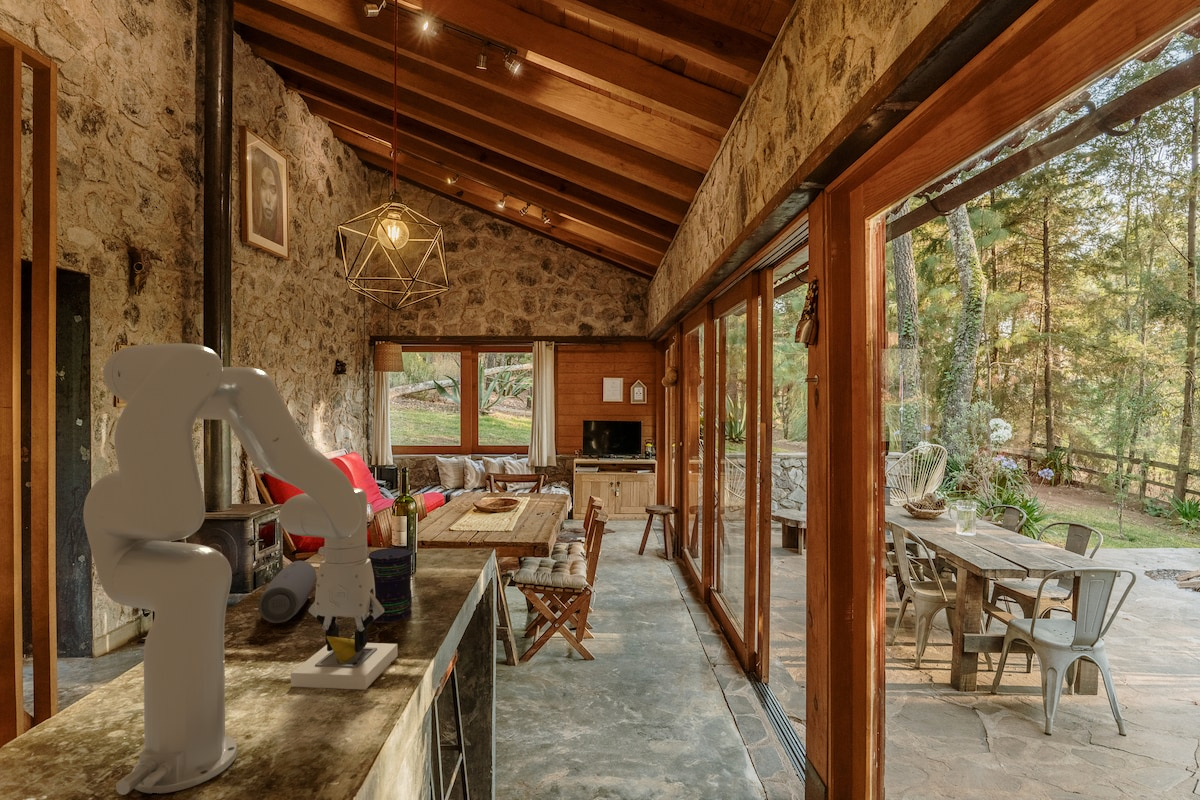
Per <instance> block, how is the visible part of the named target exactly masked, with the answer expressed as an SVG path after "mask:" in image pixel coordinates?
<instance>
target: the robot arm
mask: <svg viewBox="0 0 1200 800" xmlns="http://www.w3.org/2000/svg"><path fill="white" fill-rule="evenodd" d="M102 375H103V380H104V383H105V384H104V385H105V386H106V387H107V389H108V390H109V391H110V393H112V395H113V396H115V397H116V398H118V400H122V401H123V402H125V403H126V405H125V407H124V408H123V409H122V411H121V414H120V416H119V418H118V420H117V423H116V426H115V430H114V431H115V432H114V450H115V455H116V459H117V461H116V462H117V468H118V470H116V471H113V472H109V473H108V474H106V475H104V476H102V477H101V478H100V479H98V480H97V481H96V482H94V484H93V485H92V487H91V488H90V489H89V491H88V493H87V495H86V498H85V500H84V503H83V504H84V505H83V511H82V513H83V524H84V528H85V533H86V536H87V540H88V544H89V547H90V551H91V555H92V559H93V562H94V565H95V569H96V574H97V576H98V577H97V578H98V579H99V582H100V586H101V587H102V590H103V591H104V593H105V594H106V596H107V597H109V599H110V600H111V601H113V602H115V603H116V604H119V605H122V606H126V607H130V608H137V609H143V610H147V611H151V612H154V617H153V618H154V619H153V621H152V624H151V626H150V628H149V630H148V633H147V635H146V637H145V641H144V645H143V646H144V647H143V663H142V664H143V665H142V666H143V703H144V704H143V708H144V710H143V716H144V717H143V718H144V721H143V723H144V724H143V725H144V729H143V731H144V736H143V737H144V750H143V751H141V752H140V753H139V754H138V757H139V760H138V762H137V763H136V764H135V765H134V767H133V768H132V769H131V772H129V773H128V774H126V775H125V776H123V778H121V779H119V780H118V781H117V782H116V784H115V790H116V792H117V793H118V794H119V795H123V796H124V795H127V794H129V793H130V792H131V791H132V790H136V791H138V792H141V793H144V794H152V793H157V794H156V795H159V794H167V793H173V792H178V791H182V790H185V789H186V790H187V789H190V788H192V787H195V786H197V785H201V784H203V783H204V782H207V781H209V780H211V779H213V778H214V777H216V776H218V775H220V774H221V773H222V772H224V771H225V770H226V769H227V768H229V766H231V765H232V764H233V762H234V761H235V760H236V758H237V756H238V751H239V749H238V742H237V741H236V740H235V739H234V738H233V737H231V736H229V735H226V696H225V695H226V689H225V688H226V687H225V686H226V681H225V679H226V678H225V677H226V676H225V674H226V673H225V671H226V670H225V665H226V662H225V661H226V660H225V659H226V658H225V622H226V612H227V606H228V601H229V600H228V599H229V595H230V590H231V586H232V579H233V576H232V575H233V574H232V573H233V571H232V567H231V564H230V562H229V560H228V559H227V557H226V556H225V555H224V554H223V553H222V552H221V551H219V550H217V549H215V548H213V547H210V546H207V545H202V544H199V543H198V544H197V543H191V542H190V543H189V542H182V541H181V542H179V541H178V540H183V539H187V538H189V537H190V536H192V535H193V534H195V533H197V531H198V530H200V528H201V527H202V525H203V523H204V521H205V518H206V503H205V497H204V496H205V495H204V492H203V487H202V483H201V478H200V474H199V470H198V464H197V460H196V456H195V451H194V444H193V430H194V425H195V422H196V420H197V419H199V420H217V421H218V420H219V421H220V420H221V421H226V422H227V423H228V425H229V426H230V428H231V430H232V431H233V433H234V435H235V436H236V438H237V439H238V441H239V443H240V445H241V446H242V448H243V450H244V451H245V452H246V455H247V456H248V458H249V459H250V460H249V461H251V463H252V465H254V467H255V468H257V469H258V470H260V471H261V472H263V473H265V474H268V475H269V476H270V477H273V478H275V479H277V480H280V481H282V482H284V483H287V484H289V485H291V486H293V487H295V488H296V489H298V490H300V491H302V492H303V493H299V494H296V495H294V496H292V497H290V498H288V499H287V500H286V501H285V502H284V503H283V505H282V506H281V508H280V511H279V514H278V519H279V524H280V525H281V527H282V528H283V529H284V530H285V531H286V532H287V533H289V534H291V535H295V536H300V537H311V538H324V545H323V546H320V547H319V548H318V555H323V561H321V562H319V567H318V572H317V575H316V582H315V596H314V598H315V599H314V601H313V603H312V604H311V606H309V608H308V613H310V614H311V615H312V616H313V617H314V618H316V620H317V621H318V622H319V623H320V624H321V625H322V629H323V631H325V646H326V645H327V651H332V650H333V649H332V647H331V645H330V643H329V641H328V639H327V637H326V636H332V637H339V638H340V632H339V631H340V627H339V624H338V623H337V620H338V618H354V621H355V624H356V631H354V638H355V651H356V652H360V651H361V650H362V649H363V648H364V647H365V646H366V644H367V643H368V627H369V626H370V625H371V624H372V623H373V621H374V620H375V619H376V618H377V617H379V616H380V615H381V614H382V613H384V608H383V607H382V606H381V604H380V603H379V602H378V600H377V599H376V597H375V582H374V575H373V569H372V564H371V561H370V559H369V558H368V500H367V499H368V497H367V493H366V491H365V490H364V489H362V488H357V487H353V484H352V483H351V481H350V480H349V478H348V476H347V475H346V474H345V473H344V472H343V471H342V470H341V468H339V467H338V466H337V464H335V463H334V462H333V461H332V460H330V459H329V458H328V457H327V456H326V455H324V454H323V453H322V452H320V451H319V450H318V449H317V448H315V447H314V446H313V445H311V444H310V443H309V442H308V441H306V439H305V438H304V436H303V435H302V432H301V431H300V429H299V427H298V425H297V424H296V422H295V419H294V418H293V416H292V414H291V413H290V411H289V408H288V406H287V404H286V403H285V401H284V399H283V396H282V395H281V393H280V391H279V390H278V387H277V386H276V384H275V382H274V381H273V379H272V378H271V376H270V375H269V374H268V373H266V372H265V371H263V370H261V369H259V368H255V367H249V366H227V367H226V366H223V363H222V360H221V358H220V356H219V354H218V353H216V352H215V351H214V350H213V349H211V348H209V347H207V346H205V345H201V344H196V343H186V342H184V343H182V342H181V343H180V342H179V343H175V342H174V343H160V344H137V345H136V344H135V345H130V346H125V347H123V348H120V349H118V350H116V351H115V352H113V354H112V355H110V356H109V357H108V359H107V360H106V361H105V364H104V366H103V370H102ZM370 609H372V610H373V613H372V614H371V615H369V614H368V613H369V610H370ZM158 793H159V794H158Z"/></svg>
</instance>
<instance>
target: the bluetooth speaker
mask: <svg viewBox="0 0 1200 800" xmlns="http://www.w3.org/2000/svg"><path fill="white" fill-rule="evenodd" d="M316 581H317V572H316V569H315V567H314V566H313V564H311V563H310V562H308V561H306V560H305V561H304V560H295V561H293V562H291V563H289V564H287V565H286V566H284V567H283V568H282V569H281V570H280V571H279V572H278V573H277V574H276V575H275V576H274V578H273V579H272V580H271V581H270V583H268V585H267V587H266V588H265V589H264V591H263V593H262V595H261V597H260V599H259V602H258V606H257V607H258V612H259V615H260V616H261V617H262V618H263V620H265V621H267V622H268V623H272V624H280V623H285V622H287V621H289V620H291V618H293V617H294V616H295V615H296V614H297V613H298V612H299V611H300V609H301V608H302V607H303V606H304V605H305V603H306V602H307V600H308V599H309V597H310V595H311V592H312V590H313V588H314V586H315V585H316Z"/></svg>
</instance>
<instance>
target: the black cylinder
mask: <svg viewBox="0 0 1200 800" xmlns="http://www.w3.org/2000/svg"><path fill="white" fill-rule="evenodd" d="M368 559H370V561H371V564H372V569H373V575H374V582H375V597H376V599H377V600H378V602H379V603H380V604H381V606H382V607H383V608H384V613H382V614H381V615H380V616H379V617H377V618H376V619H375V620H374V621H373V622H374V623H380V624H385V623H387V624H389V623H396V622H399V621H403V620H405V619H408V618H409V617H411V615H412V605H413V597H412V590H411V575H412V572H413V570H412V567H413V565H412V564H413V562H412V549H409V548H407V547H406V548H405V547H388V548H387V547H386V548H380V549H376V550H373V551H371V552H370V553H368ZM368 613H369V614H368V616H369V615H371V614H372V613H373V610H372V609H370V610H368ZM373 622H372V623H373Z"/></svg>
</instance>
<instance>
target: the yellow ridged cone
mask: <svg viewBox="0 0 1200 800" xmlns="http://www.w3.org/2000/svg"><path fill="white" fill-rule="evenodd" d="M326 637H327V639H328V641H329V643H330V645H331V647H332V649H333V651H334V653H335V655H336V661H337V664H349V665H354V664H355V662H356V661H357V660H361V659H360V657H361V656H362V655H363V654H364V653H365V652H364V651H363V649H362V650H361V651H360V652H356V651H355V637H352V638H345V637H340V636H339V637H332V636H326V635H325V638H326Z"/></svg>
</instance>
